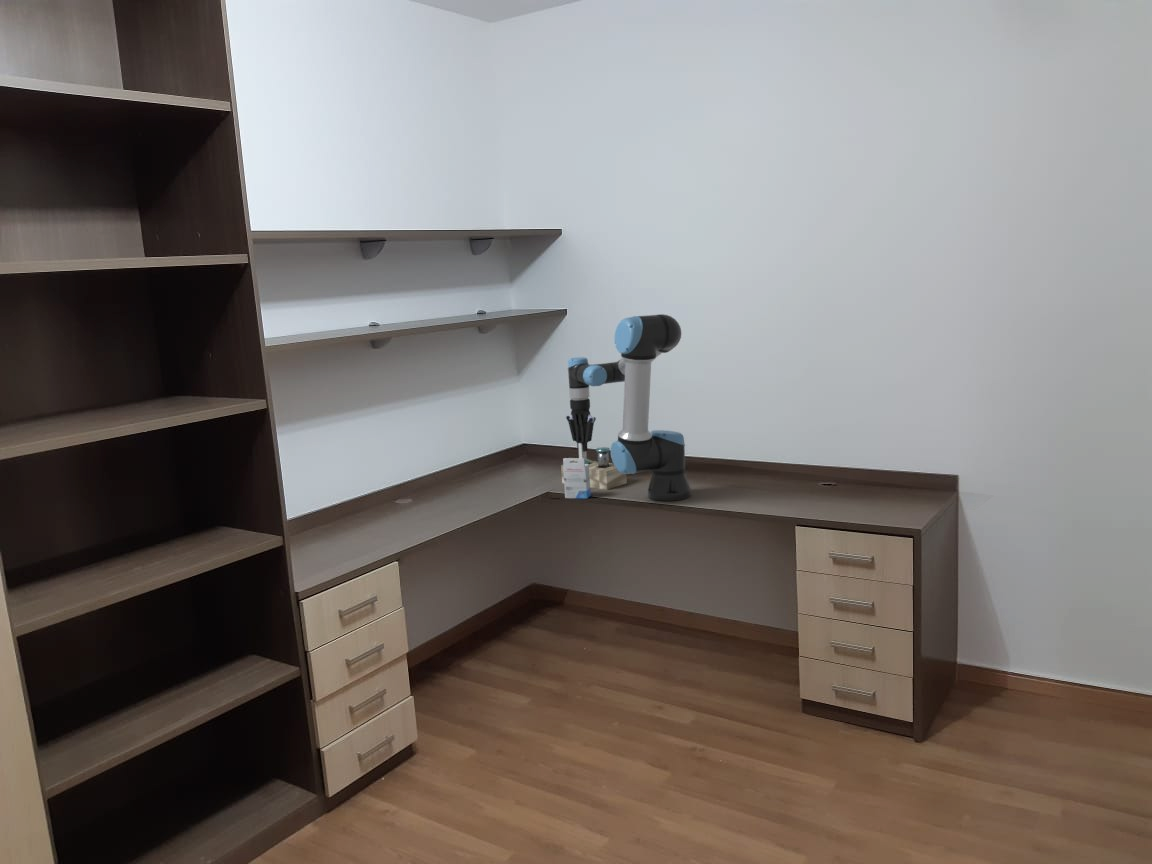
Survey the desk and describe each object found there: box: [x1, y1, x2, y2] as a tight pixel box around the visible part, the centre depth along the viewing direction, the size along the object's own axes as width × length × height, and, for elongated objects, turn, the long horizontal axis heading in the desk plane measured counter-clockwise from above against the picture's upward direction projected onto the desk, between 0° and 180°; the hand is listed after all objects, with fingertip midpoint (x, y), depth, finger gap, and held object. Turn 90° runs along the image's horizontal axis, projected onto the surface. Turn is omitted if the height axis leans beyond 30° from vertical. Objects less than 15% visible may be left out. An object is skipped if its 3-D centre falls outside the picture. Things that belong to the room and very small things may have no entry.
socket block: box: [560, 460, 628, 491], centre depth 345 cm, size 22×12×7 cm, turn 49°
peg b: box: [595, 446, 611, 468], centre depth 340 cm, size 5×5×8 cm
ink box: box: [562, 457, 592, 500], centre depth 325 cm, size 9×5×15 cm, turn 71°
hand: (583, 459), depth 347 cm, fingers closed
